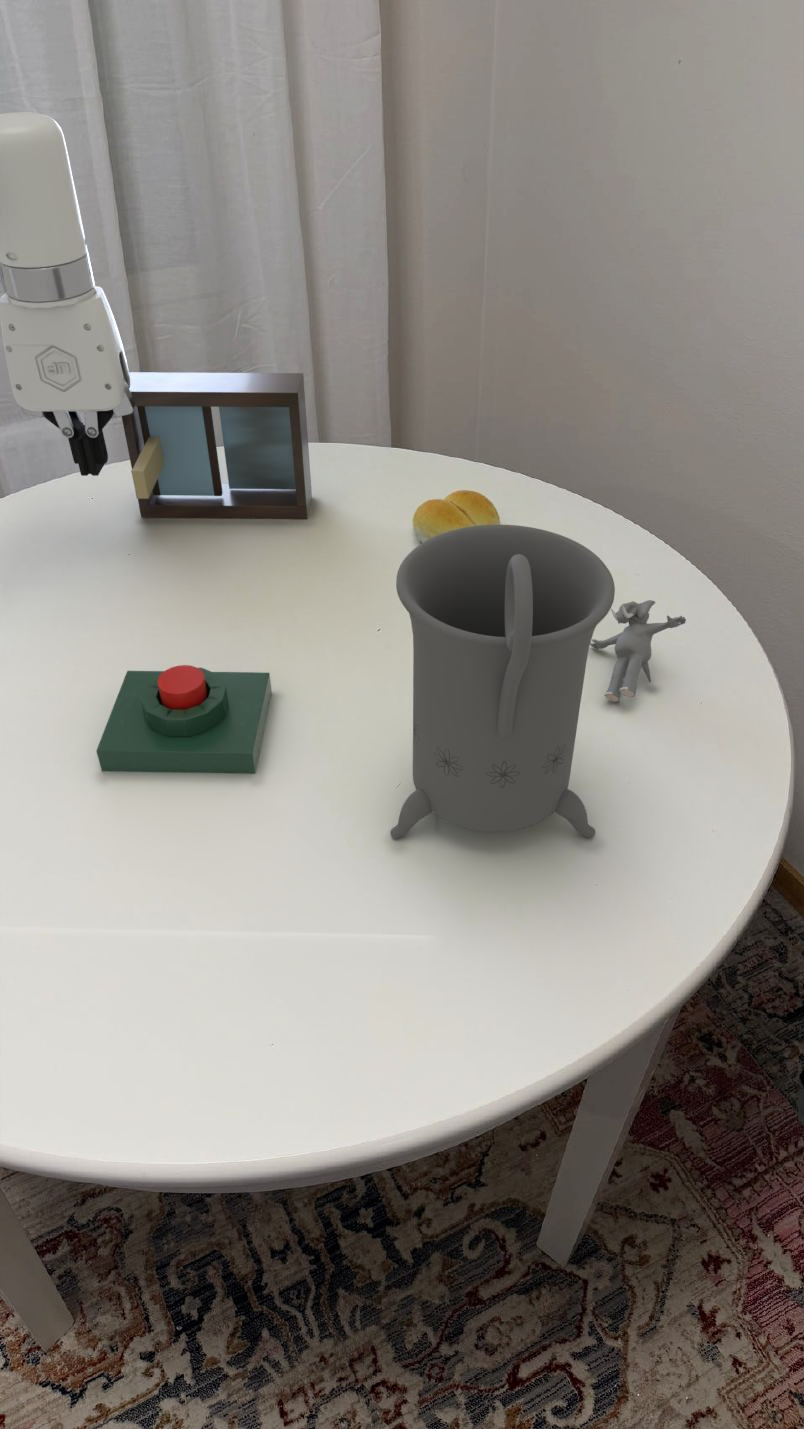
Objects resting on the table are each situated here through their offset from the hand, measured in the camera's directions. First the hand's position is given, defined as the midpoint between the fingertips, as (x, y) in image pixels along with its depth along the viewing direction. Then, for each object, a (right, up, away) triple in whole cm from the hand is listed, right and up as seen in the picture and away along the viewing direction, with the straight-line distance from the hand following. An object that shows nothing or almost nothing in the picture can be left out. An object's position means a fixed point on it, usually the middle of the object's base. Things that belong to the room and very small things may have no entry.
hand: (93, 469), depth 100 cm
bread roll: (+37, -5, +6) cm, 37 cm away
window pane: (+8, -3, +5) cm, 10 cm away
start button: (+14, -23, -21) cm, 34 cm away
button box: (+14, -26, -18) cm, 34 cm away
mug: (+37, -31, -25) cm, 55 cm away
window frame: (+12, -2, +10) cm, 15 cm away
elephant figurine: (+51, -21, -13) cm, 57 cm away
